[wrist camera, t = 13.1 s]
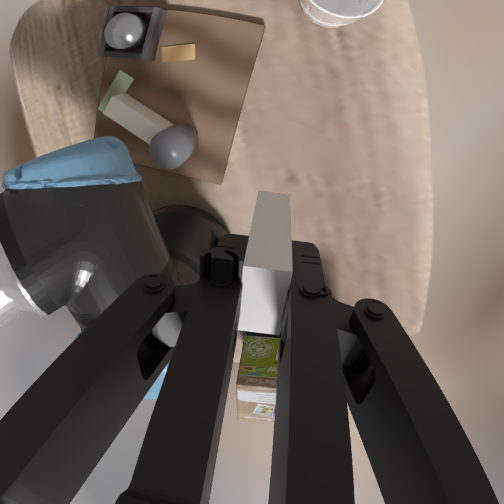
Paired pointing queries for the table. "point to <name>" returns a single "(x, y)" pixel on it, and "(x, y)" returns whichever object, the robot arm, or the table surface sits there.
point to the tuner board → (183, 82)
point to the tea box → (257, 377)
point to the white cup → (338, 11)
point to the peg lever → (154, 131)
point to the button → (126, 31)
